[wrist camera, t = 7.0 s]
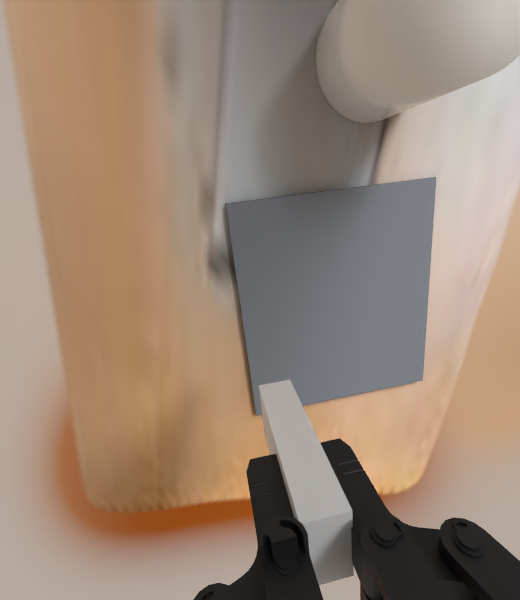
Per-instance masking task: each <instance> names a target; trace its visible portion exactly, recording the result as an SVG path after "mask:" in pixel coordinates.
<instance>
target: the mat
mask: <svg viewBox="0 0 520 600" xmlns="http://www.w3.org/2000/svg"><path fill="white" fill-rule="evenodd" d="M435 187H436V177H434V178H425V179H417V180H409V181H401V182H393V183H385V184H377V185H369V186H361V187H353V188H345V189H337V190H329V191H322V192H314V193H306V194H298V195H290V196H282V197H274V198H266V199H258V200H250V201H242V202H234V203H226V211H227V218H228V225H229V232H230V239H231V246H232V253H233V260H234V267H235V274H236V281H237V288H238V295H239V302H240V308H241V315H242V322H243V329H244V336H245V343H246V350H247V357H248V364H249V371H250V378H251V385H252V392H253V399H254V406H255V412H256V416H258V415H262V408H261V401H260V393H259V385H264V384H269V383H275V382H280V381H285V380H291V382H292V385H293V387H294V389H295V391H296V393H297V395H298V397H299V399H300V401H301V403H302V406H305V405H309V404H314V403H319V402H324V401H328V400H333V399H338V398H342V397H347V396H352V395H356V394H361V393H366V392H371V391H375V390H380V389H385V388H389V387H394V386H399V385H403V384H408V383H413V382H418V381H422V380H423V368H424V353H425V337H426V322H427V307H428V292H429V277H430V262H431V247H432V232H433V217H434V202H435Z"/></svg>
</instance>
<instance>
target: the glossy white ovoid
mask: <svg viewBox="0 0 520 600" xmlns="http://www.w3.org/2000/svg"><path fill="white" fill-rule="evenodd" d="M519 55H520V0H339V1H338V2H337V3H336V5H335V6H334V8H333V9H332V11H331V12H330V14H329V15H328V17H327V18H326V20H325V22H324V24H323V27H322V29H321V32H320V35H319V39H318V43H317V50H316V69H317V75H318V80H319V83H320V86H321V89H322V91H323V94H324V96H325V97H326V99H327V101H328V102H329V104H330V105H331V106H332V107H333V108H334V109H335V110H336V111H337V112H338V113H339V114H340V115H342V116H343V117H345V118H347V119H349V120H351V121H355V122H359V123H373V122H378V121H380V120H383V119H386V118H388V117H391V116H393V115H396V114H398V113H401V112H403V111H405V110H408V109H410V108H413V107H415V106H418V105H420V104H423V103H425V102H427V101H430V100H432V99H435V98H437V97H440V96H442V95H445V94H447V93H450V92H452V91H454V90H457V89H459V88H462V87H464V86H467V85H469V84H472V83H474V82H477V81H479V80H481V79H484V78H486V77H489V76H491V75H493V74H495V73H497V72H499V71H500V70H502V69H503V68H505V67H506V66H508V65H509V64H510V63H511V62H512V61H513V60H515V59H516V58H517V57H518V56H519Z"/></svg>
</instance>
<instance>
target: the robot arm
mask: <svg viewBox="0 0 520 600" xmlns="http://www.w3.org/2000/svg"><path fill="white" fill-rule="evenodd" d="M259 393H260V401H261V408H262V416H263V424H264V432H265V436H266V440H267V444H268V448H269V451H270V455H268V456H263V457H259V458H254V459H250V462H249V465H248V469H247V478H248V484H249V491H250V497H251V503H252V509H253V515H254V521H255V528H256V534H257V540H258V551H257V556H256V559H255V561H254V563H253V565H252V566H251V568H250V569H249V571H248V572H246V573H245V574H244V575H243V576H242V577H241V578H239V579H238V580H236V581H235V582H234V583H232V584H231V585H225V584H221V583H216V584H212V585H208V586H207V587H206V588H204V589H203V590H201V591H200V592H199V593H198V594H197V596H196V597H195V599H194V600H323V597H322V594H321V591H320V588H319V585H321V584H325V583H328V582H332V581H336V580H339V579H343V578H346V577H350V576H353V565H354V567H355V570H356V572H357V575H358V577H359V580H360V584H361V585H360V590H361V593H360V596H361V600H520V561H519V560H518V559H517V558H516V557H514V556H513V555H512V554H511V553H510V552H509V551H508V550H507V549H505V548H504V547H503V546H502V545H501V544H500V543H499V542H497V541H496V540H495V539H494V538H493V537H492V536H491V535H490V534H488V533H487V532H486V531H485V530H484V529H482V528H481V527H479V526H478V525H477V524H475V523H473V522H471V521H468V520H466V519H462V518H451V519H448V520H445V522H444V523H443V524H442V525H441V528H440V530H439V529H428V528H418V527H413V526H409V525H407V524H405V523H403V522H401V521H400V520H399V519H397V518H396V517H394V516H393V515H392V514H391V513H390V512H389V511H388V509H387V508H386V507H385V505H384V503H383V501H382V500H381V498H380V496H379V495H378V493H377V491H376V490H375V488H374V486H373V484H372V483H371V481H370V479H369V478H368V476H367V474H366V473H365V471H364V470H363V467H362V466H361V464H360V462H359V461H358V459H357V457H356V456H355V454H354V452H353V450H352V449H351V447H350V446H348V445H347V444H346V443H345V442H344V441H342V440H341V439H335V440H331V441H326V442H322V443H320V441H319V439H318V437H317V435H316V433H315V431H314V429H313V427H312V425H311V422H310V420H309V418H308V416H307V414H306V412H305V410H304V408H303V406H302V403H301V401H300V399H299V397H298V395H297V393H296V391H295V389H294V387H293V385H292V382H291V380H285V381H280V382H275V383H269V384H264V385H259Z"/></svg>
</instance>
